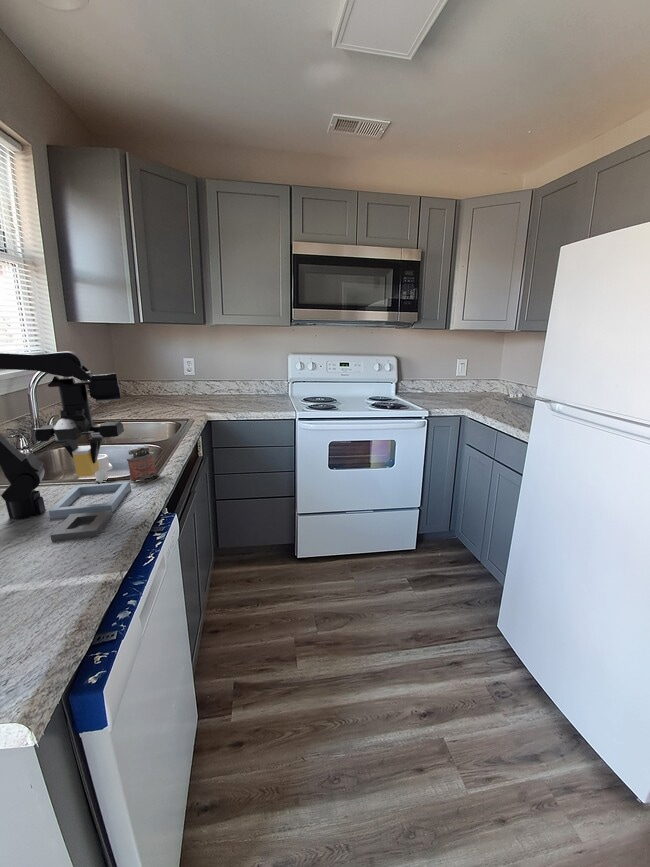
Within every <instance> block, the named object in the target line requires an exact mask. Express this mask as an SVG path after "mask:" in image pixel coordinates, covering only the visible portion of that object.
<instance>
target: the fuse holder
mask: <svg viewBox="0 0 650 867" xmlns="http://www.w3.org/2000/svg"><path fill="white" fill-rule="evenodd" d="M112 517H113V513H111V510H110V511H99V512H88V513H77V514H70V515H69V516H68V517H65V519H64V520H63V521H62V522H61V523H60V524H59V525H58V526H57V527H56V529H54V531H52V533H51V534H50V539H51V542H59V541H68V540H79V539H88V538H96V537H99V535H100V534H101V532H102V531H103V529H105V526H107V524H108V522H109V521H110V520H111V519H112Z"/></svg>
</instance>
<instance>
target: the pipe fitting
mask: <svg viewBox="0 0 650 867" xmlns="http://www.w3.org/2000/svg"><path fill="white" fill-rule="evenodd" d="M97 460H98V466H99V469H98V470H97V471H96V472H95V473H94V478H95V479H96V480H95V482H96V481H103V480H107V479H108V480H109V478H108V472H109V471H111V470H113V465H112V464H111V463H110V462H109V456H108V454H105V453H104V454H103V453H102V454H101V453H98V457H97Z"/></svg>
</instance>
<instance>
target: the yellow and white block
mask: <svg viewBox="0 0 650 867" xmlns="http://www.w3.org/2000/svg"><path fill="white" fill-rule="evenodd" d="M72 454H73V458H72V460H73V464H74V469H75V475H76V477H91V476H93V475H95V472H96V471H97V470H98V469H99V466H98V460H96V463H93V461H92V457H91V447H90V445H81V446H78V448H77V449H76V450H74V451H73V452H72Z"/></svg>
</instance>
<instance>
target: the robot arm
mask: <svg viewBox="0 0 650 867" xmlns="http://www.w3.org/2000/svg"><path fill="white" fill-rule="evenodd" d="M0 370H13V371H14V370H15V371H34V372H41V373H45V374H49V375H53V377H52V378H53V379H52V380H51V381H50V382H49V383H48V384H47V387H49V388H56V387H57V388H58V393H59V397H60V404H61V408H62V409H61V410H59V412H60V413H59V414H60V418H59V419H58V420H57V422H56V423H55V424H47V425H46V424H45V425H43V426H40V427H39V428H37V429H35V431H34V433H33V437H34V441H35V442H38V443H39V442H48V441H50V440H51V439H52V438H53V437H54V441H53V443H54V444H59V445H60V446H62V447H64V449H65V450H66V451H67V452H68V454H69V456H70V457H71V458H72V459H73V454H72V452H73V451H74V450H76V449H77V448H79V445H78V440H79V439H80V438H81V436H82V435H90V436H91V437H90V438H88V439H87V442H88V443H89V446H90V447H91V457H92V461H93V463H96V460H97V457H98V455H99V454H100V450H101V449H100V448H101V446H102V443H103V441H104V439H106V438H115V437H119V436H120V435H121V434H122V433H124V432H125V429H124V424H123V422H121V421H105V422H104V423H102V424H101V425H95V420H93V419H92V413H91V410H92V408H93V407H92V404H90V402H89V397H88V392H89V396H90V399H93V400H95V401H96V402H97V403H98V402H108V401H109V402H110V401H120V400H122V394H121V393H122V392H121V386H120V384H119V379H118V374H117V372H110V373H105V374H94V373H92V371H91V370H89V369H88V368H87V367H86V366H85V365H84V362H83V359H82V358H81V356H80V355H79V354H77V353H76V352H74V351H70V350H66V351H64V350H63V351H54V352H46V353H45V352H44V353H23V352H22V353H20V352H7V351H6V352H5V351H0ZM58 376H59V377H58ZM60 377H64V378H60ZM76 379H77V380H79V381H76ZM86 385H88V390H87V386H86ZM94 425H95V426H94ZM43 465H44V462H43V461H41V460H39V459H38V458H37V456H36V455H35V454H34V453H33V452H32V451H29V452H28V453H27V454H25V453H23V452H21V451H18V450H17V449H16V447H15V446H13V445H12V444H11V443H10V442H9V441H8V440H7V439H6V438H5V437H4V436H3V435H2V434H1V433H0V468H1V471H2V472H3V473H2V474H3V475H4V478H6V480H7V481H8V483H9V484H8V486H7V487H6V488H5V490H4V491H3V492H2V493H1V495H0V496H1V498H2V499H3V500H4V502H5V506H6V510H7V513H8V518H9V519H12V520H13V519H14V520H25V519H30V518H33V517H38V516H42V515H43V514H44V513H45V512H46V505H45V501H44V497H43V496H42V495H41V491H40V490H36V489H37V488H38V487H39V485H40V484H41V482H42V480H43V479H44V476H45V470H46V469H45V468H44V466H43Z"/></svg>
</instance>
